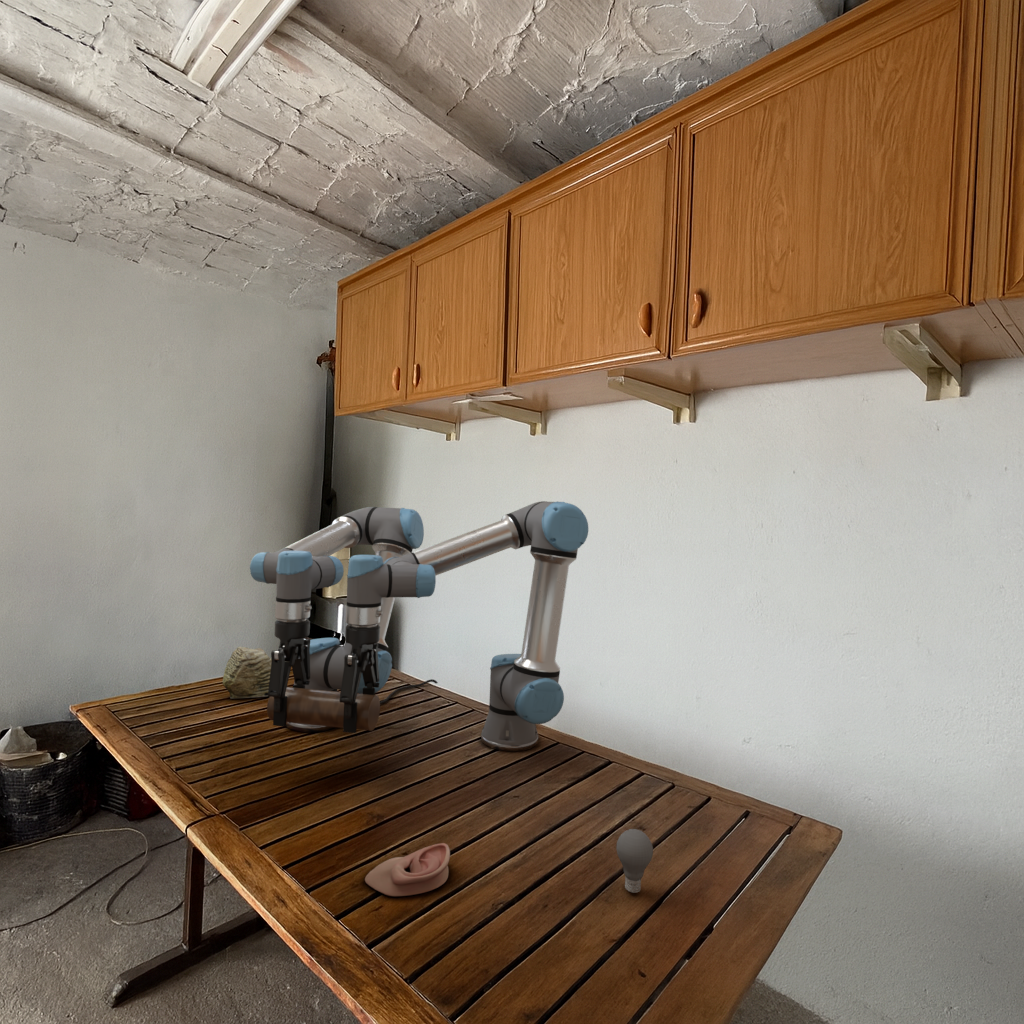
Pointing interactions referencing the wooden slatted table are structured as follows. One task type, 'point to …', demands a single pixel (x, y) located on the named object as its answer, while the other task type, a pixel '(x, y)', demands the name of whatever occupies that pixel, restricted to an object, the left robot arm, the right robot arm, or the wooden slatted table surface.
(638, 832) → the light bulb
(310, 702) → the rod
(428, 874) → the anatomical model
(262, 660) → the fossil
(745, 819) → the wooden slatted table surface
